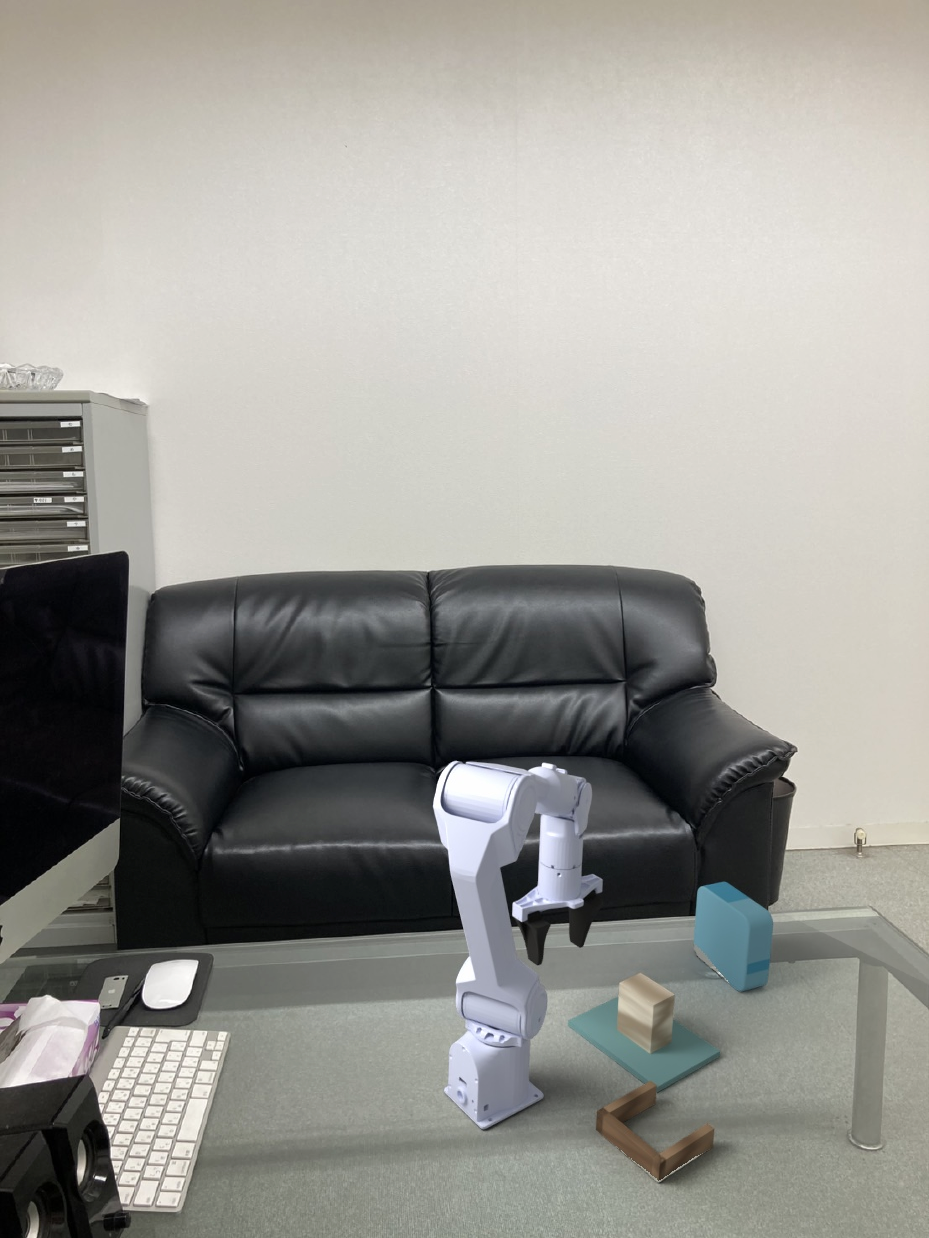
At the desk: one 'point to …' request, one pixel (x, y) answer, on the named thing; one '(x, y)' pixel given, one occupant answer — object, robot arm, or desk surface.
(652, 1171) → the frame
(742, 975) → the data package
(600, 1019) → the slate-teal mat
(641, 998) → the ash blank
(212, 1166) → the desk surface
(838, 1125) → the desk surface
